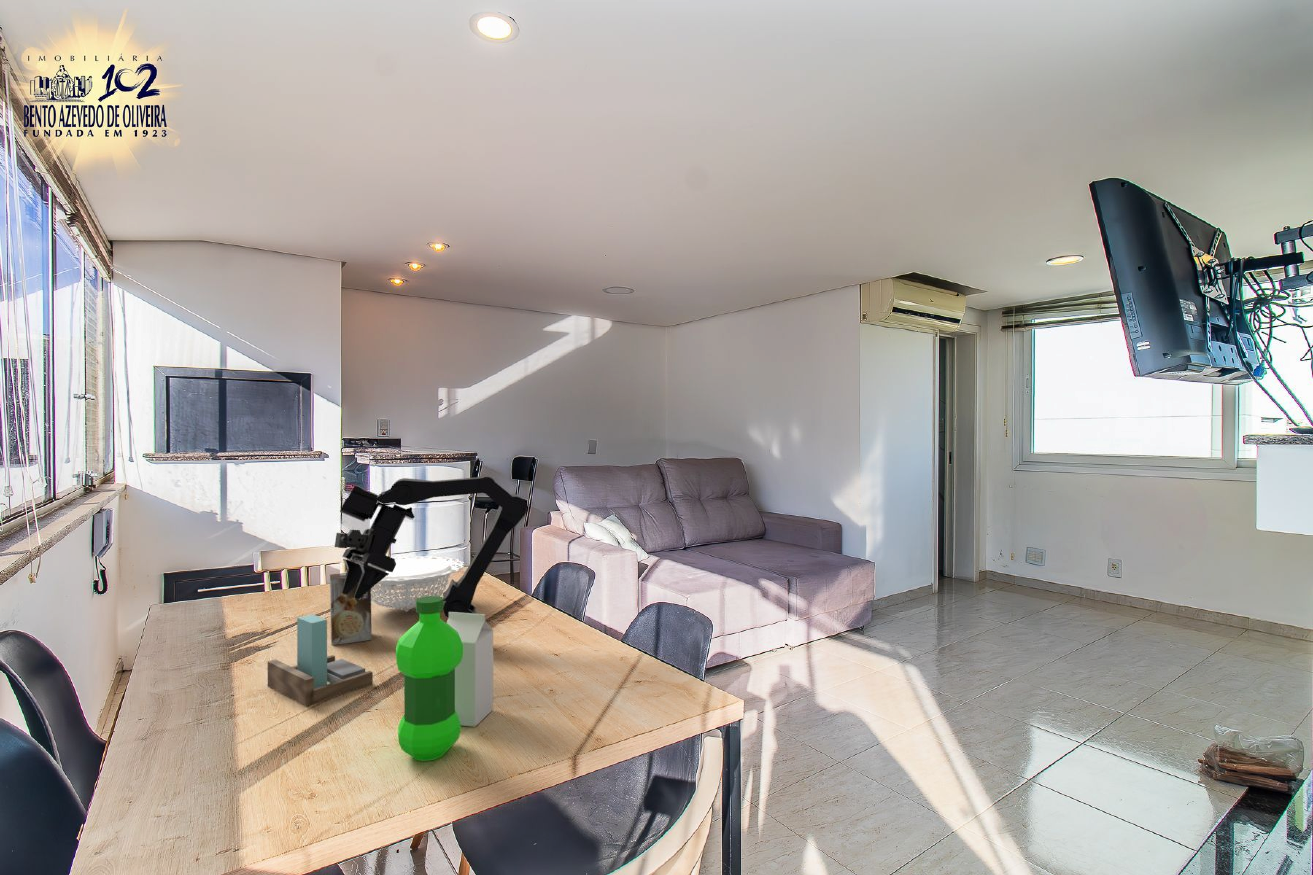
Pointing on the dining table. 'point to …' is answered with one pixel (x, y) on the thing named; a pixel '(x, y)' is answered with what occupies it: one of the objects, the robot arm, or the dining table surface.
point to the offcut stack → (342, 670)
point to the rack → (311, 683)
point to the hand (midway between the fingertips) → (350, 595)
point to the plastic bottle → (429, 683)
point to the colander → (414, 580)
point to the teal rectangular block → (312, 648)
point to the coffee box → (348, 613)
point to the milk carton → (473, 668)
